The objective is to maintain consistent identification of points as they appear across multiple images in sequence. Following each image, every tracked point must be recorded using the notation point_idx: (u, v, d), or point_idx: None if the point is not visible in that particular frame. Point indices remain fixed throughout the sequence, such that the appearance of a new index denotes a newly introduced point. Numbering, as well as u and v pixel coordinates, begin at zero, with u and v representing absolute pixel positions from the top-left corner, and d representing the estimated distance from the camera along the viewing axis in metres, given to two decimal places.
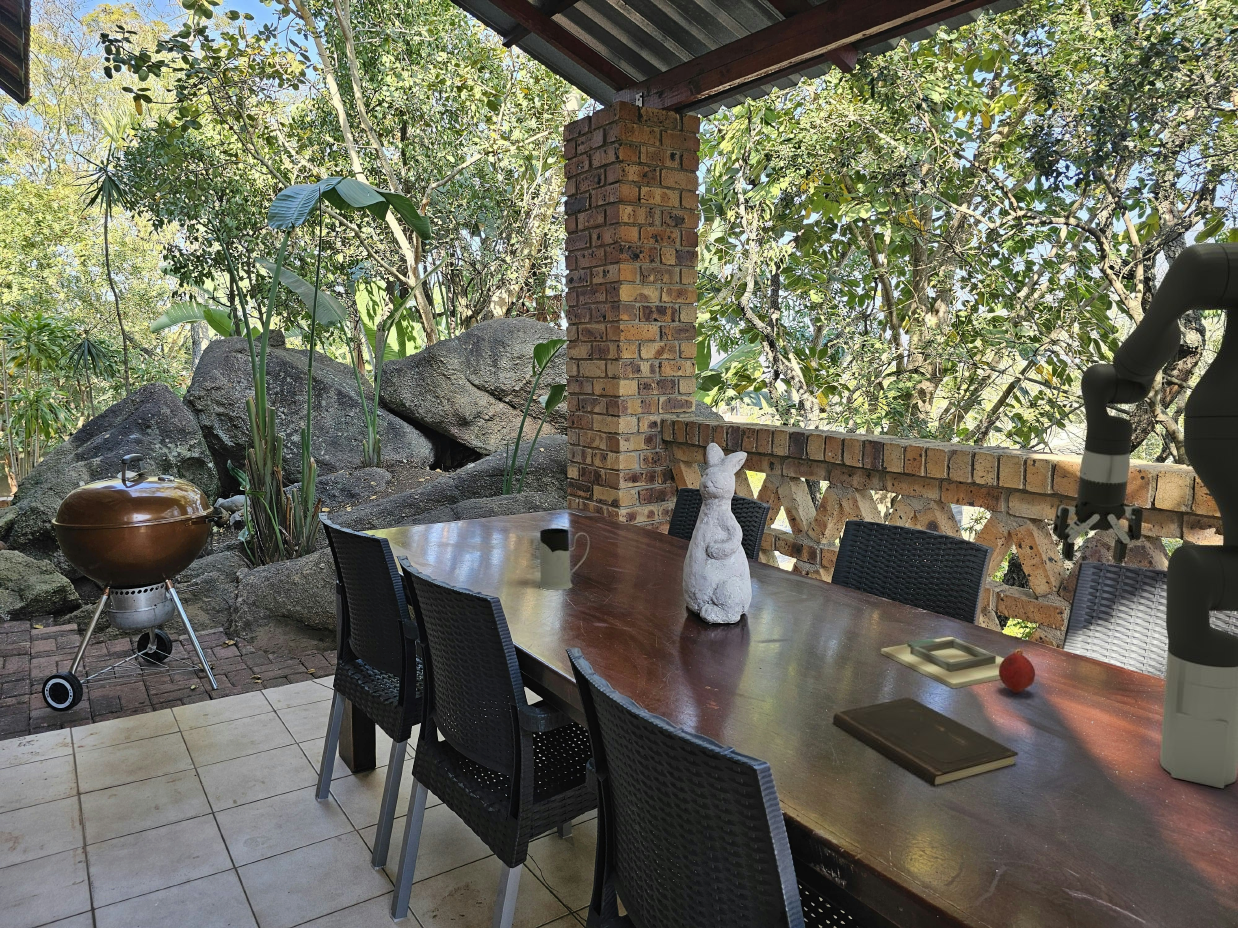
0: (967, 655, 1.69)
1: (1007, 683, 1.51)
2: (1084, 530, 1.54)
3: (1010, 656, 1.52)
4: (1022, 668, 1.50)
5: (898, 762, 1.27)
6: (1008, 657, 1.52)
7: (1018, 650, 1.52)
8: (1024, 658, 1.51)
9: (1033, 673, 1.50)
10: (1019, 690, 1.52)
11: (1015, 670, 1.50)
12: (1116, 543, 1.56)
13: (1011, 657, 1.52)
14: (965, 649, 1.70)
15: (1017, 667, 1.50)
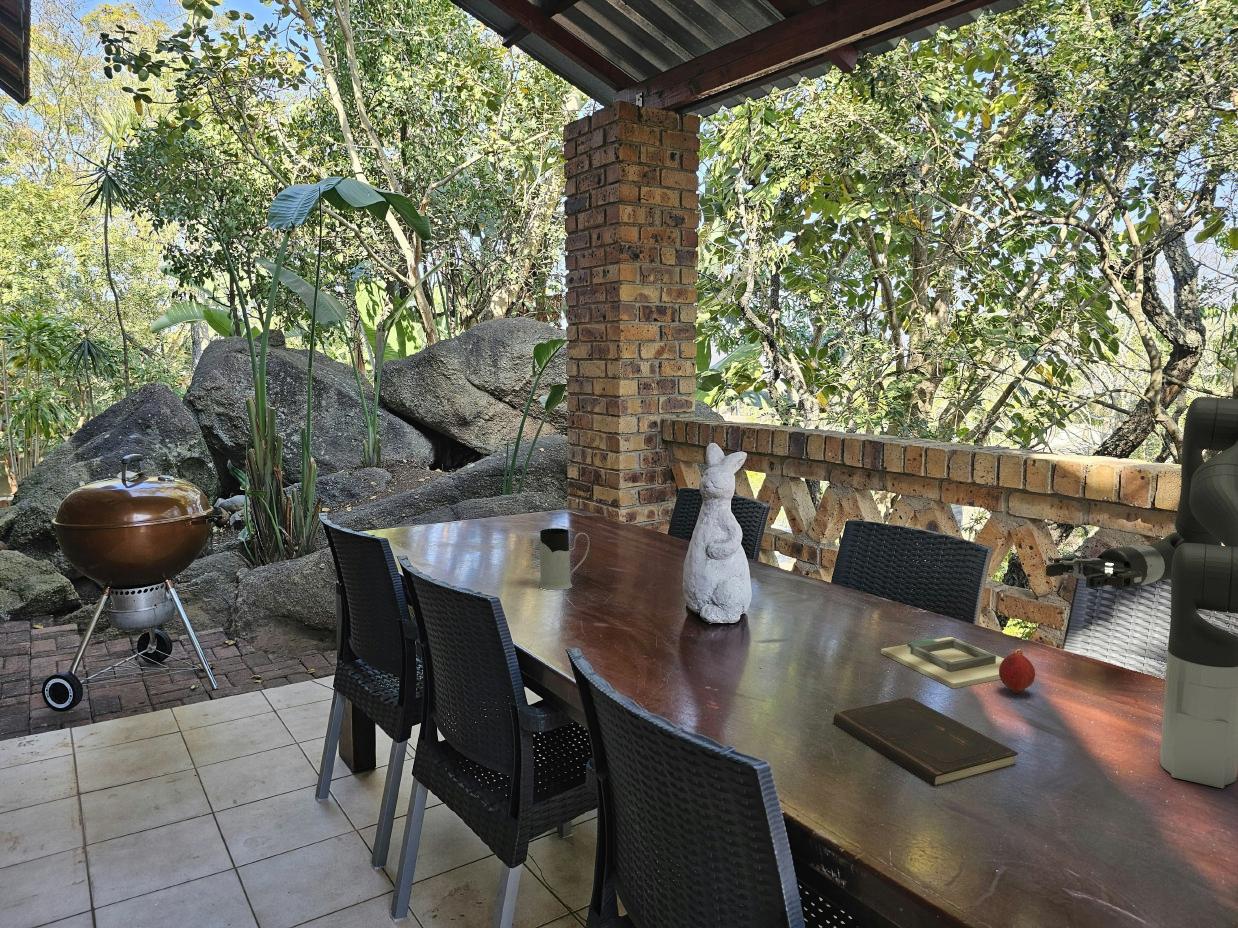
0: (967, 655, 1.69)
1: (1007, 683, 1.51)
2: (1079, 559, 1.59)
3: (1010, 656, 1.52)
4: (1022, 668, 1.50)
5: (898, 762, 1.27)
6: (1008, 657, 1.52)
7: (1018, 650, 1.52)
8: (1024, 658, 1.51)
9: (1033, 673, 1.50)
10: (1019, 690, 1.52)
11: (1015, 670, 1.50)
12: None
13: (1011, 657, 1.52)
14: (965, 649, 1.70)
15: (1017, 667, 1.50)
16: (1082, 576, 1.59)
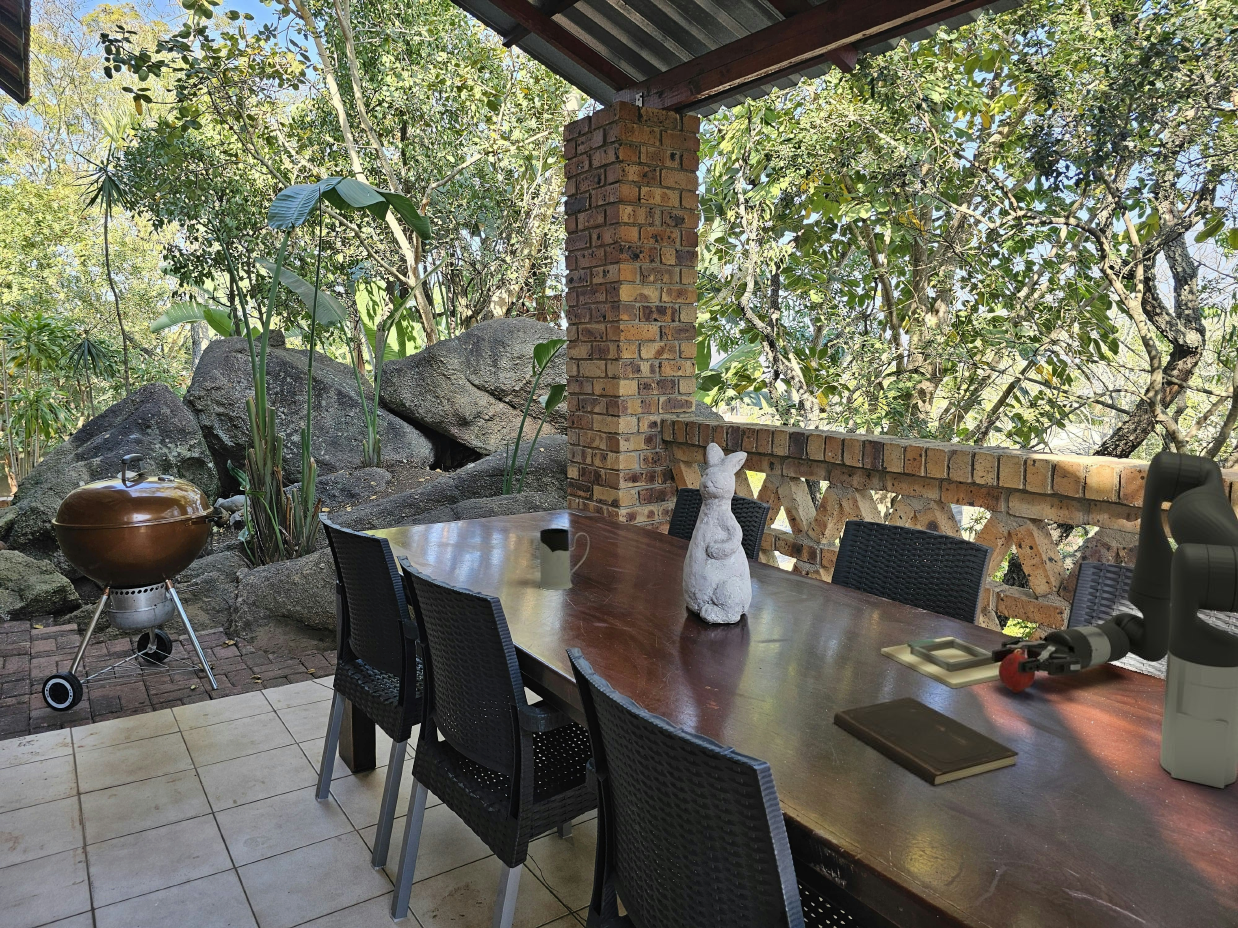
0: (967, 655, 1.69)
1: (1007, 683, 1.51)
2: (1025, 643, 1.56)
3: (1010, 656, 1.52)
4: None
5: (898, 762, 1.27)
6: (1008, 657, 1.52)
7: (1018, 650, 1.52)
8: (1024, 658, 1.51)
9: (1033, 673, 1.51)
10: (1019, 690, 1.52)
11: (1015, 670, 1.50)
12: None
13: (1011, 657, 1.52)
14: (965, 649, 1.70)
15: (1017, 666, 1.50)
16: None
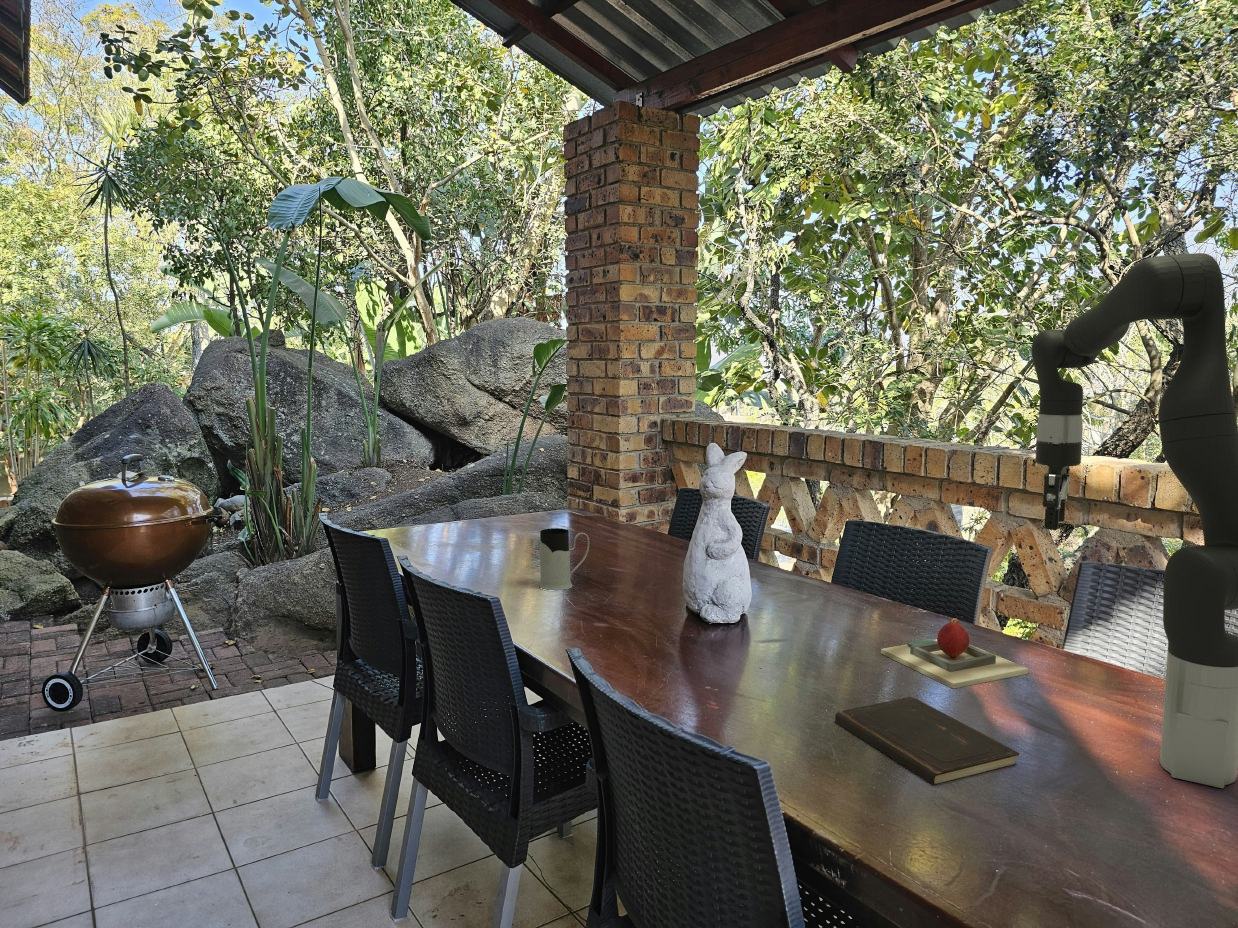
0: (967, 655, 1.69)
1: (944, 649, 1.66)
2: None
3: (947, 625, 1.67)
4: (957, 635, 1.65)
5: (898, 761, 1.28)
6: (945, 625, 1.67)
7: (954, 619, 1.67)
8: (959, 626, 1.66)
9: (967, 640, 1.65)
10: (955, 655, 1.66)
11: (951, 637, 1.65)
12: None
13: (947, 626, 1.66)
14: None
15: (952, 634, 1.65)
16: (1066, 488, 1.60)
